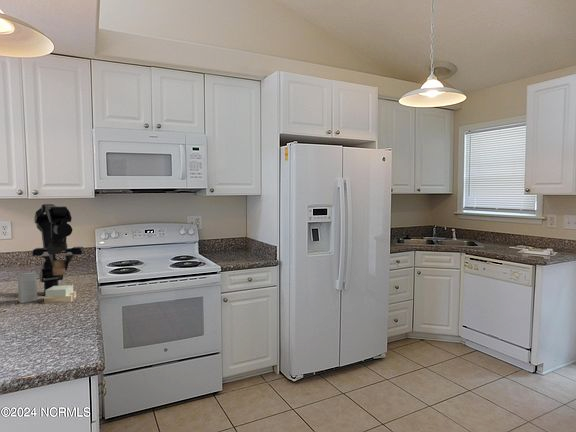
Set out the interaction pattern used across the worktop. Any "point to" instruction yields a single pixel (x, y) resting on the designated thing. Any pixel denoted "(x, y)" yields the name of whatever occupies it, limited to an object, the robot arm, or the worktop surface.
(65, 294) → the sage block
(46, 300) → the maple block
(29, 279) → the skincare box
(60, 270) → the brown rounded cylinder
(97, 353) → the worktop surface
